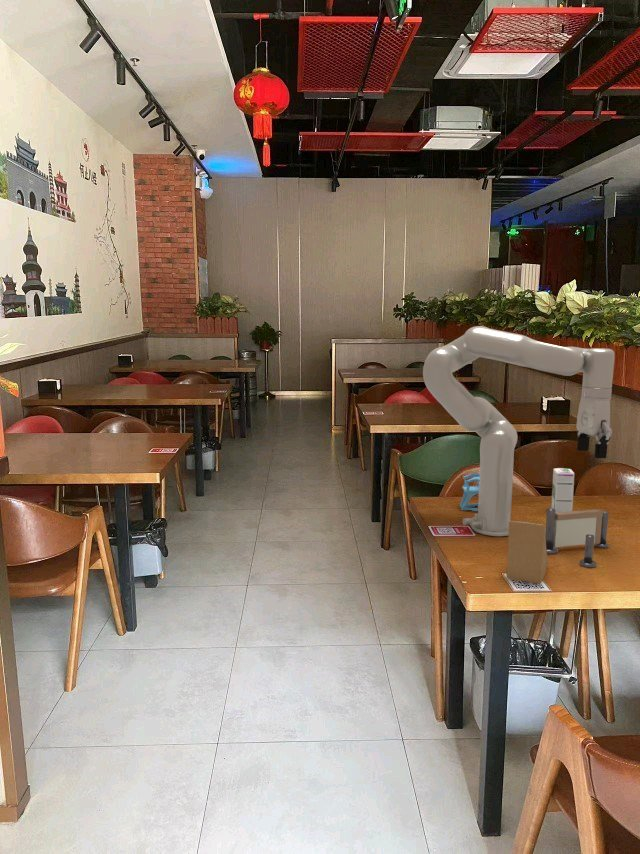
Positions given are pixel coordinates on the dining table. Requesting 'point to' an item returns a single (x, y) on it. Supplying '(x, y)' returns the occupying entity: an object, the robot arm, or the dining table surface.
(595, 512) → the panel
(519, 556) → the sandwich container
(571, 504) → the syrup box
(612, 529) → the dining table surface
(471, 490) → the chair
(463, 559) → the dining table surface
